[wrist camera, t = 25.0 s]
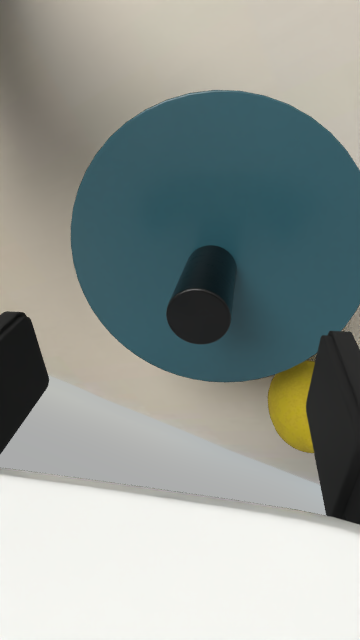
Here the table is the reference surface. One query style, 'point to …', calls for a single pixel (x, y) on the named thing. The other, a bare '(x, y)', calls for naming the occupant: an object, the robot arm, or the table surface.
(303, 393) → the lemon
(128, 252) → the lid
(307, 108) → the table surface
